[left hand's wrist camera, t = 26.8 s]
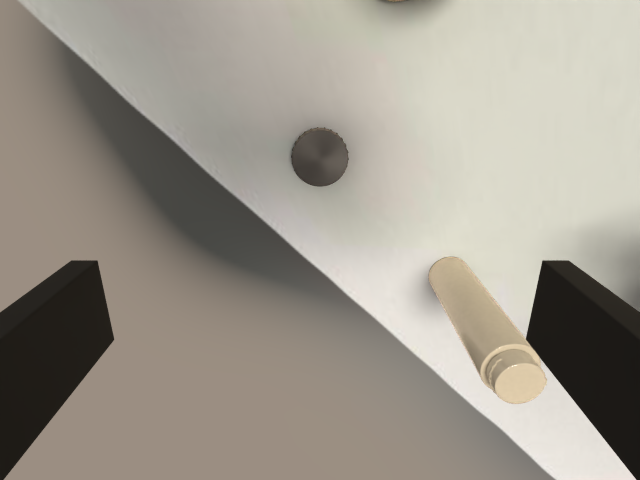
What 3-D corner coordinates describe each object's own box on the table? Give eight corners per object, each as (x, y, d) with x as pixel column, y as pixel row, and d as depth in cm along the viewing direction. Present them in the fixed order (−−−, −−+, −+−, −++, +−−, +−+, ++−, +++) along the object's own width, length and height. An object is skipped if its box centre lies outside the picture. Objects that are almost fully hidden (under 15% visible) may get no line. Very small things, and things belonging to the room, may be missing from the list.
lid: (337, 119, 37) (338, 121, 35) (354, 173, 39) (355, 177, 37) (284, 137, 38) (282, 140, 36) (302, 189, 39) (302, 194, 38)
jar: (427, 293, 43) (485, 409, 28) (429, 257, 42) (492, 359, 27) (467, 292, 43) (546, 408, 28) (471, 256, 42) (557, 357, 27)
